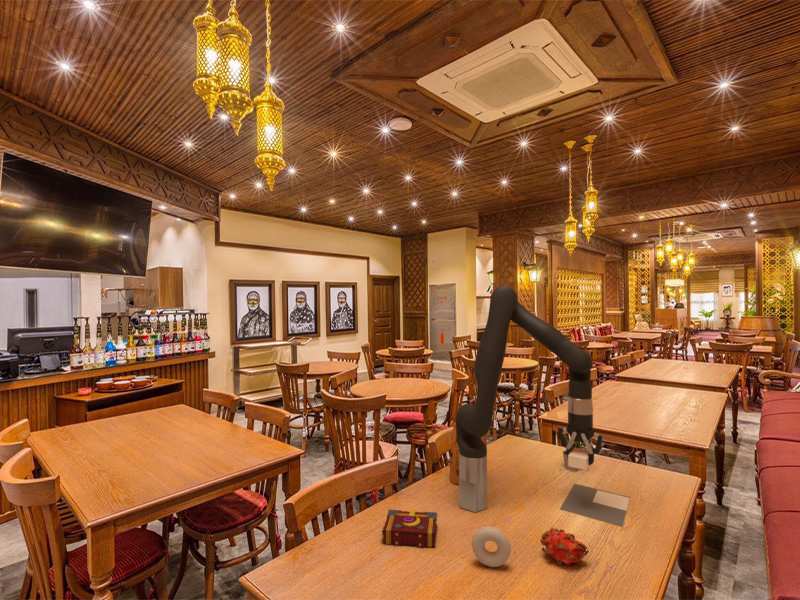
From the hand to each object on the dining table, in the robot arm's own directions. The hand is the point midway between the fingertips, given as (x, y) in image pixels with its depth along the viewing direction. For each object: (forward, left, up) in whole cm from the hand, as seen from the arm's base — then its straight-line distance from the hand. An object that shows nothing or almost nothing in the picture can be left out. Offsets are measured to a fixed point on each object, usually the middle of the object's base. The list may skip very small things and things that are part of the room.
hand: (580, 461), depth 132 cm
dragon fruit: (-30, -2, -16) cm, 34 cm away
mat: (+6, -4, -15) cm, 17 cm away
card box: (0, 0, -1) cm, 1 cm away
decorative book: (-44, +39, -16) cm, 61 cm away
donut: (-43, +13, -16) cm, 48 cm away
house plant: (+31, +8, -16) cm, 36 cm away
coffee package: (-2, +40, -16) cm, 43 cm away
